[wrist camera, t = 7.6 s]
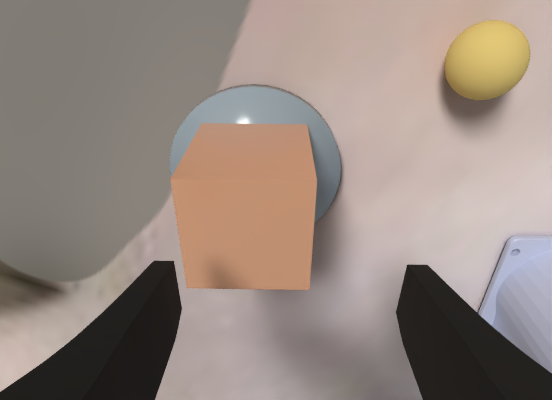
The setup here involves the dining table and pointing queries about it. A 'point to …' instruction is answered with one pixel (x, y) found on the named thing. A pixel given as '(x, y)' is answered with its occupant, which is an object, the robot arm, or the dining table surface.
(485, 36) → the ball
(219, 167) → the peach matte cube
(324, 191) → the saucer
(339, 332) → the dining table surface
